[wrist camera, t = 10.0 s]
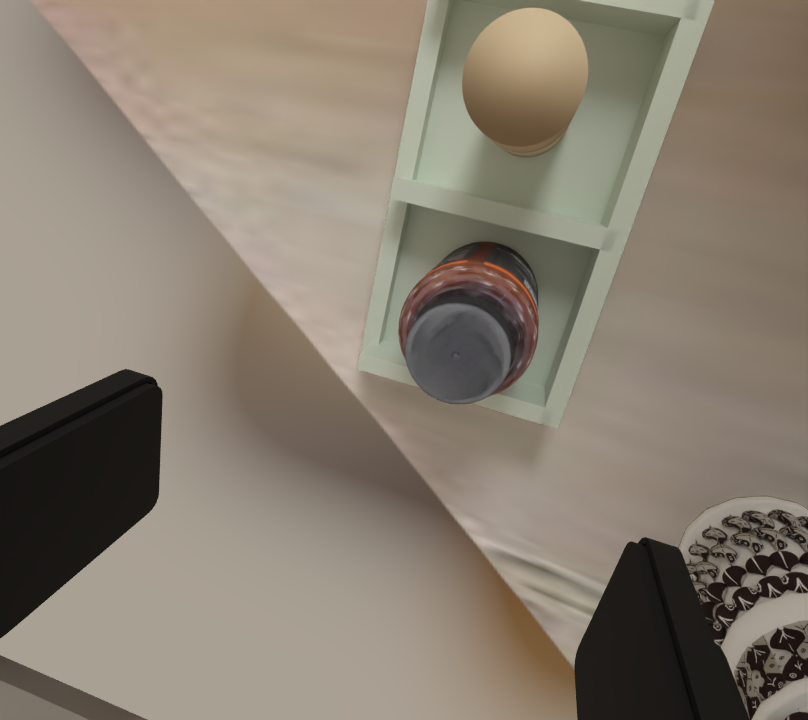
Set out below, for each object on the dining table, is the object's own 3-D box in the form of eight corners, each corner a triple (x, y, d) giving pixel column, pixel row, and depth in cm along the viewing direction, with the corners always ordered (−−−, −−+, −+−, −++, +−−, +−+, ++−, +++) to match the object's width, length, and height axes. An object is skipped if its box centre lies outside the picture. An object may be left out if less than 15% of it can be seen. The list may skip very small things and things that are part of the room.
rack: (441, -23, 26) (426, -55, 22) (692, 20, 24) (717, -8, 21) (368, 347, 33) (348, 366, 30) (556, 401, 31) (557, 429, 28)
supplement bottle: (414, 308, 31) (350, 374, 20) (467, 218, 28) (425, 240, 18) (500, 362, 31) (479, 456, 20) (561, 276, 28) (573, 332, 18)
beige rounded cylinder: (501, 62, 26) (479, -3, 17) (582, 78, 25) (606, 19, 16) (480, 148, 27) (449, 132, 18) (556, 165, 27) (564, 157, 17)
